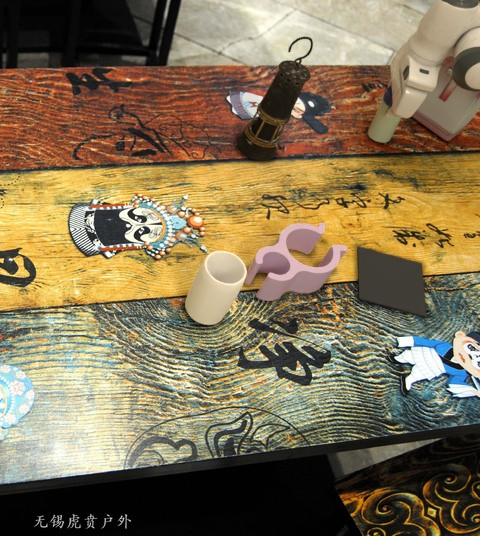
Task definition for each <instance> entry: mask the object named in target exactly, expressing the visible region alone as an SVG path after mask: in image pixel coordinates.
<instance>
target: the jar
mask: <svg viewBox="0 0 480 536" xmlns="http://www.w3.org/2000/svg"><path fill="white" fill-rule="evenodd" d="M389 107H390V108H391V106H389V105H387V104H386V103H385V102H384V100H383V98H382V99H381V102H380V104H379V106H378V107H377V110H376V111H375V114H374V117H373V118H372V120H371V123H370V125H369V126H368V129H367V132H366V133H367V136H368V137H369V138H370V139H371V140H372V141H374V142H376V143H388V142H391V140H392V138H393V136H394V135H395V132H396V130H397V129H398V126H399V124H400V122H401V120H402V118H401V117H398V116H394V117H393V118H387V117H386V111H387V109H388V108H389Z"/></svg>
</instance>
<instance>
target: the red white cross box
mask: <svg viewBox="0 0 480 536" xmlns="http://www.w3.org/2000/svg"><path fill="white" fill-rule="evenodd" d="M453 63H454V57H453V56H448V57H446V59H445V60H444V61H443V63H442V64H441V68H440V71H439V74H438V79H437V85H436V87H435V89H434V90H433V91H432V92H428V94H427V96H426V98H425V100H424V101H423V103H422V104H421V105H420V107H419V108H418V109H417V110H416V112H415V113H414V114H413V115H412V116H411V117H410V118H412V119H414V120H415V121H417V122H418V123H420V124H421V125H422V126H424V128H427V129H428V130H429V131H431V132H432V133H433V134H434V135H436V136H438V137H439V138H441V139H442V140H443V141H445V142H449V141H452V140H453V139H454V138H455V137H457V136H458V135H459V134H460V133H462V132H463V131H464V129H465V126H467V125H468V124H469V123H470V122H471V121H472V119H474V117H475V116H476V115H477V113H478V111H479V110H480V92H473V91H468V90H465V89H463V88H461V87H459V86H458V85H457V84H456V83H455V82H454V80H453V78H452V68H453Z"/></svg>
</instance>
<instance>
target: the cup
mask: <svg viewBox="0 0 480 536" xmlns="http://www.w3.org/2000/svg"><path fill="white" fill-rule="evenodd" d="M247 270H248V269H247V267H246V264H245V262H244V261H243V260H242V258H240V257H239V256H238V255H237V254H235V253H232V252H230V251H227V250H226V251H225V250H214V251H211V252H210V253H208V255H206V257H205V258H204V260H203V261H202V263H201V265H200V266H199V268H198V270H197V272H196V273H195V275H194V278H193V280H192V282H191V285H190V287H189V290H188V293H187V295H186V298H185V302H184V307H185V308H184V309H185V311H186V313H187V314H188V315H189V317H190V318H191V319H192V320H193V321H195V322H197V323H199V324H202V325H205V326H206V325H207V326H212V325H213V326H214V325H216V324H218V323H220V322H221V321H222V320H223V319H224V317H225V316H226V315H227V313H228V311H229V310H230V309H231V307H232V306H233V304H234V303H235V300H236V299H237V297H238V295H239V293H240V292H241V290H242V288H243V286H244V284H245V283H244V281H245V278H246V275H247Z"/></svg>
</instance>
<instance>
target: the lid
mask: <svg viewBox="0 0 480 536" xmlns="http://www.w3.org/2000/svg"><path fill="white" fill-rule="evenodd" d="M382 99H383V100H384V102H385V103H386V104H387V105H389V106H391V107H392V104H393V101H392V86H389V87H388V86H387V88H386V90H385V91H384V93H383V95H382Z"/></svg>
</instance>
